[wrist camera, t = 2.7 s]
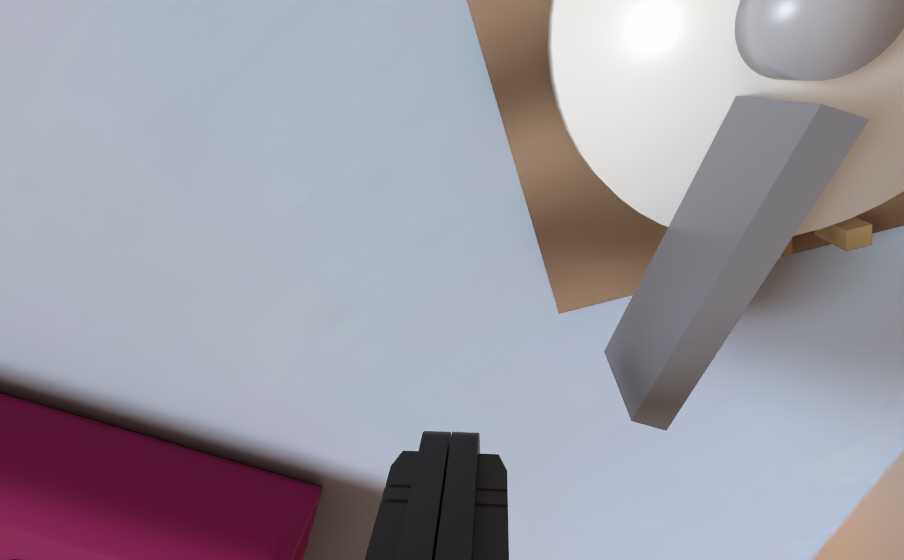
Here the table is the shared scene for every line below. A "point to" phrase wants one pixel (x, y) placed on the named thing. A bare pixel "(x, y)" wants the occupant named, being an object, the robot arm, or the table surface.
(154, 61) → the table surface
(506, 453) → the table surface
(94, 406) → the table surface
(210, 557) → the book
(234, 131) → the table surface
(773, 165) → the dial
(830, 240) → the level stand
